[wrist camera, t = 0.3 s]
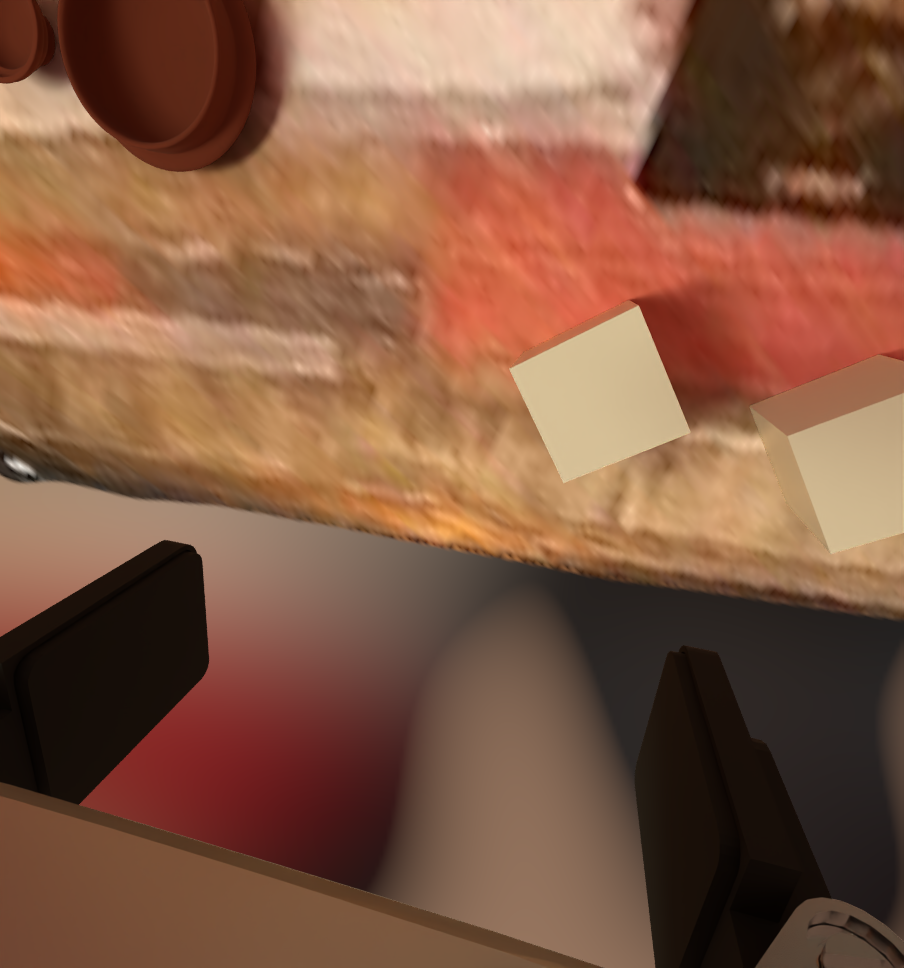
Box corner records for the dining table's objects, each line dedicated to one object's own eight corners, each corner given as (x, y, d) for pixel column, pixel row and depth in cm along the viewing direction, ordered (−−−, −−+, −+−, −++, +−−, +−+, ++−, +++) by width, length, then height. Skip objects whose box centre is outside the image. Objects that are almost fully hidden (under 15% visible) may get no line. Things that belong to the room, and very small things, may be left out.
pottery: (265, 193, 36) (225, 183, 32) (5, 132, 38) (-63, 116, 34) (282, -33, 31) (237, -79, 27) (-15, -86, 34) (-96, -135, 30)
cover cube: (628, 299, 33) (638, 305, 27) (671, 403, 35) (690, 432, 28) (523, 352, 36) (509, 368, 29) (567, 447, 37) (563, 483, 31)
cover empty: (878, 354, 31) (953, 374, 25) (912, 462, 33) (992, 506, 26) (749, 405, 34) (787, 436, 27) (786, 503, 35) (830, 554, 29)
